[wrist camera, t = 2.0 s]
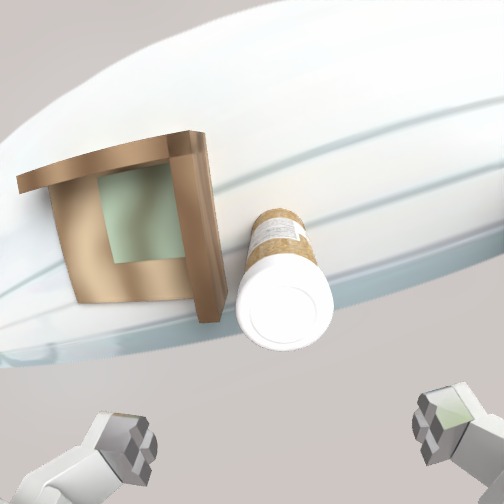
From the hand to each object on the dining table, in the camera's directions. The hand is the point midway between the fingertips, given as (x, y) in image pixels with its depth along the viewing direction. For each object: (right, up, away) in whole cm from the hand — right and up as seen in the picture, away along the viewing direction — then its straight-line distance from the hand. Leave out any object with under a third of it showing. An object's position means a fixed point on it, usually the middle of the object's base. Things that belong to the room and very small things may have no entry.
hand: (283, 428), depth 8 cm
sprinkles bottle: (+1, +7, +19) cm, 20 cm away
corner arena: (-12, +7, +19) cm, 24 cm away
